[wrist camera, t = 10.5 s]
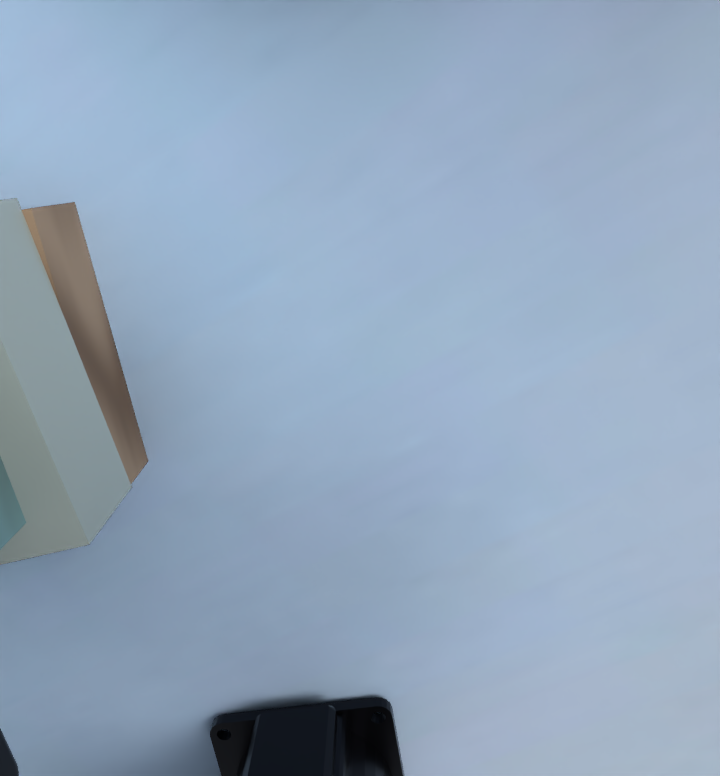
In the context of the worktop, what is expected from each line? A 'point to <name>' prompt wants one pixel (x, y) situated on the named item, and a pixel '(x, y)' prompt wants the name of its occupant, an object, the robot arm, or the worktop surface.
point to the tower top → (48, 410)
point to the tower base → (87, 322)
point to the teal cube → (8, 509)
